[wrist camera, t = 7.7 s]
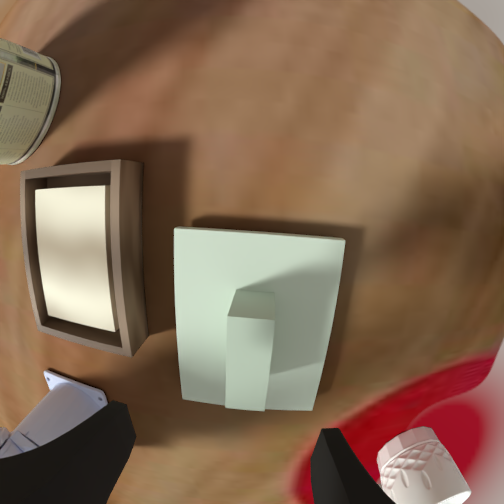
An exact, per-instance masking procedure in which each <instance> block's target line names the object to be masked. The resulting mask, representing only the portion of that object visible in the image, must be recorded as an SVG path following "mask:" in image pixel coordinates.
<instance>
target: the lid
mask: <svg viewBox="0 0 504 504" xmlns="http://www.w3.org/2000/svg"><path fill="white" fill-rule="evenodd" d="M344 248H345V240H344V239H343V238H335V237H323V236H311V235H299V234H286V233H273V232H259V231H245V230H230V229H214V228H198V227H181V226H178V227H176V228H174V285H175V312H176V331H177V346H178V359H179V370H180V381H181V390H182V399H185V400H191V401H197V402H203V403H210V404H218V405H225V408H232V409H242V410H253V411H265V409H273V410H305V411H312V409H313V405H314V402H315V398H316V394H317V390H318V386H319V382H320V378H321V374H322V370H323V366H324V361H325V357H326V352H327V348H328V343H329V338H330V333H331V328H332V323H333V318H334V313H335V307H336V301H337V296H338V290H339V283H340V277H341V270H342V263H343V256H344Z"/></svg>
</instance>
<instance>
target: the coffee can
mask: <svg viewBox="0 0 504 504" xmlns="http://www.w3.org/2000/svg"><path fill="white" fill-rule="evenodd" d="M60 86H61V74H60V70H59V67H58V64H57V63H56V62H55V60H54V59H52V58H51V57H48V56H44V55H41V54H39V53H37V52H35V51H32V50H30V49H28V48H25V47H23V46H20V45H18V44H15V43H13V42H10V41H7V40H4V39H2V38H0V164H8V165H16V164H19V163H21V162H23V161H24V160H26V159H27V158H28V157H29V156H30V155H31V154H32V153H33V152H34V151H35V150H36V149H37V148H38V146H39V145H40V143H41V141H42V139H43V138H44V136H45V135H46V133H47V131H48V129H49V127H50V124H51V122H52V119H53V117H54V114H55V111H56V107H57V104H58V100H59V94H60Z"/></svg>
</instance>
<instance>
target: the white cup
mask: <svg viewBox="0 0 504 504" xmlns="http://www.w3.org/2000/svg"><path fill="white" fill-rule="evenodd" d="M377 463H378V467H379V471H380V474H381V484H382V488H383V491H384V492H385V493H386V494H387V495H388V496H389V497H390V498H391V499H392V500H393V501H394V502H395V503H396V504H462V503H463V502H464V501H465V500H466V499H467V498H468V497H469V496H470V494H471V490H470V488H469V487H468V485H467V483H466V481H465V479H464V478H463V476H462V474H461V472H460V471H459V469H458V467H457V466H456V464H455V462H454V461H453V459H452V457H451V456H450V454H449V453H448V451H447V450H446V449H445V447H444V445H442V444H441V442H440V441H439V440H438V438H437V436H436V434H435V433H434V431H433V430H432V428H429V427H424V426H422V427H417V428H413V429H410V430H408V431H406V432H403V433H401V434H399V435H397V436H396V437H394V438H393V439H392V440H390V441H389V442H387V443H386V444H385V445H384V446H383V448H382V449H381V450H380V451H379V452H378V456H377Z"/></svg>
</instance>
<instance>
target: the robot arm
mask: <svg viewBox="0 0 504 504" xmlns="http://www.w3.org/2000/svg"><path fill="white" fill-rule="evenodd" d="M44 375H45V378H46V380H47V383H48V386H49V388H50V390H51V391H50V392H49V393H48V394H47V395H46V396H45V397H44V398H43V399H42V400H41V401H40V402H39V403H38V404H37V405H36V406H35V408H34V409H33V410H32V411H31V412H30V413H29V414H28V415H27V416H26V417H25V418H24V420H23V421H22V422H21V423H20V424H19V425H18V426H17V427H16V428H15V429H14V431H12V432H9V431H8V430H7V428H5V427H4V428H2V427H0V504H106V503H107V500H108V498H109V496H110V494H111V492H112V490H113V488H114V486H115V484H116V482H117V480H118V478H119V476H120V474H121V472H122V470H123V468H124V467H125V465H126V463H127V461H128V459H129V457H130V454H131V451H132V448H133V445H134V442H135V439H136V434H135V431H134V428H133V425H132V422H131V418H130V415H129V412H128V408H127V405H126V404H124V403H120V402H117V401H111V402H110V403H108V402H107V399H106V396H105V394H104V392H103V391H102V390H100V389H97V388H94V387H91V386H88V385H85V384H82V383H79V382H77V381H74V380H71V379H69V378H66V377H63V376H61V375H58V374H56V373H54V372H51V371H49V370H45V371H44ZM311 484H312V491H313V498H314V504H396V503H395V502H394V501H393V500H392V499H391V498H390V497H389V496H388V495H387V494H386V493H385V492H384V491H383V490H382V489H381V488H380V487H379V485H378V484H377V483H376V482H375V481H374V479H373V478H372V477H371V476H370V474H369V473H368V472H367V470H366V469H365V468H364V466H363V465H362V464H361V462H360V461H359V459H358V458H357V457H356V455H355V454H354V452H353V451H352V449H351V447H350V446H349V444H348V443H347V441H346V439H345V438H344V436H343V434H342V433H341V431H340V429H338V428H326V429H321V432H320V435H319V438H318V440H317V443H316V446H315V448H314V451H313V454H312V456H311Z"/></svg>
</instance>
